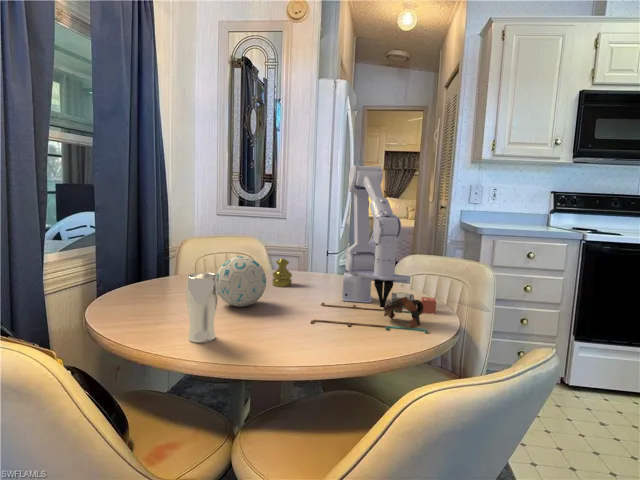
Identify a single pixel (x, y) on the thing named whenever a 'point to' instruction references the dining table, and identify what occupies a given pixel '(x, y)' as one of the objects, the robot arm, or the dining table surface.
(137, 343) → the dining table surface
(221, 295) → the puzzle ball
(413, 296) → the box
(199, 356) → the dining table surface
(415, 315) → the brown bent frame piece
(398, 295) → the dome
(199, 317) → the beer glass
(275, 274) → the gold chess piece
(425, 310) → the die
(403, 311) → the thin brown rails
